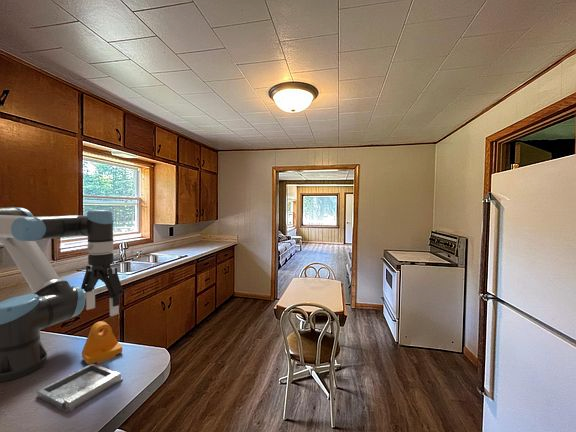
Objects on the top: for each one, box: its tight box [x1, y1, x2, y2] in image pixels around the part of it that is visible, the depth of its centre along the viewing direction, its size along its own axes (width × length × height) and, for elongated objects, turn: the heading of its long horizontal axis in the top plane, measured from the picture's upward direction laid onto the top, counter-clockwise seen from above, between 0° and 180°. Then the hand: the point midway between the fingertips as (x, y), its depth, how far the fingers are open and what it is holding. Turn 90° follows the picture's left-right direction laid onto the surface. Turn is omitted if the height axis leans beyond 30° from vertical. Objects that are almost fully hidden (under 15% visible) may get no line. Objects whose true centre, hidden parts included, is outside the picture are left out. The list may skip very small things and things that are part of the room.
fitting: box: [36, 363, 124, 414], centre depth 81 cm, size 15×15×2 cm
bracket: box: [81, 320, 123, 365], centre depth 98 cm, size 11×7×12 cm, turn 141°
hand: (102, 311), depth 98 cm, fingers open, 13 cm apart
